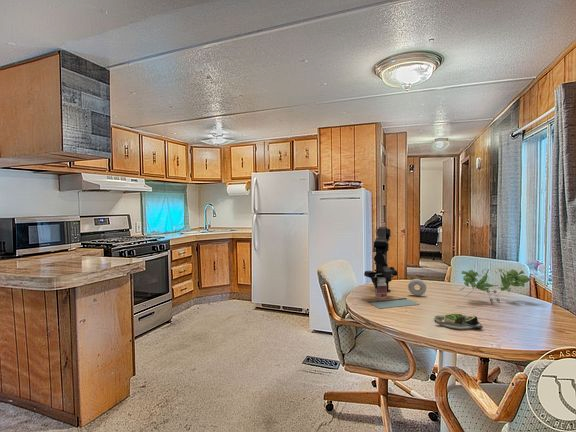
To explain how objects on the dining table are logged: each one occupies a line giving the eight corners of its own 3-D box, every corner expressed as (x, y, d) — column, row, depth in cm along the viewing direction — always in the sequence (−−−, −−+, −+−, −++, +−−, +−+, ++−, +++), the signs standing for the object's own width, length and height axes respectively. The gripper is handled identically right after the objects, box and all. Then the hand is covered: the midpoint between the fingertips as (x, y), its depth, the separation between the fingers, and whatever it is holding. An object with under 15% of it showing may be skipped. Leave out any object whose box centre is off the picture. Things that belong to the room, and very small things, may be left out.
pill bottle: (388, 298, 187) (388, 278, 186) (378, 299, 185) (378, 279, 185) (383, 295, 193) (383, 276, 192) (373, 296, 191) (373, 277, 191)
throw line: (367, 302, 180) (367, 301, 180) (405, 298, 186) (405, 297, 186) (368, 302, 179) (368, 302, 179) (406, 299, 185) (406, 298, 185)
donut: (426, 295, 192) (426, 278, 191) (426, 297, 188) (426, 280, 188) (408, 294, 195) (408, 277, 195) (408, 295, 192) (408, 279, 192)
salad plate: (445, 333, 135) (445, 322, 135) (423, 319, 153) (423, 309, 153) (489, 331, 137) (489, 320, 137) (462, 317, 155) (462, 307, 154)
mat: (369, 303, 178) (369, 302, 178) (408, 299, 184) (408, 299, 184) (379, 308, 168) (379, 308, 168) (419, 304, 174) (419, 304, 174)
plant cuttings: (454, 310, 185) (470, 295, 167) (446, 282, 195) (460, 265, 177) (517, 310, 184) (540, 294, 166) (506, 282, 194) (526, 264, 176)
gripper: (373, 264, 178) (373, 292, 179) (403, 262, 183) (403, 290, 183) (363, 261, 189) (363, 288, 189) (392, 259, 194) (392, 285, 194)
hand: (381, 288), depth 189 cm, fingers closed on pill bottle, 6 cm apart
